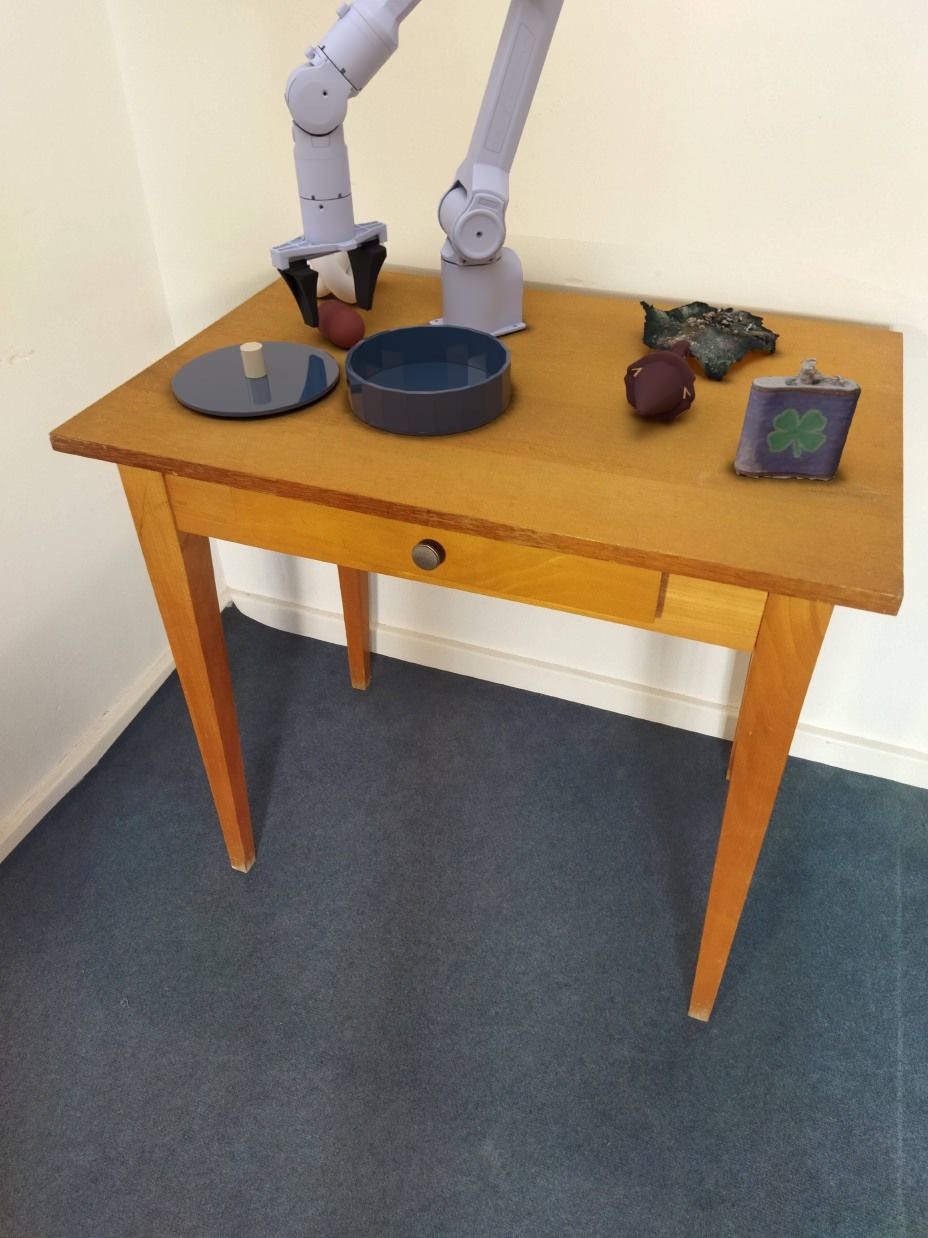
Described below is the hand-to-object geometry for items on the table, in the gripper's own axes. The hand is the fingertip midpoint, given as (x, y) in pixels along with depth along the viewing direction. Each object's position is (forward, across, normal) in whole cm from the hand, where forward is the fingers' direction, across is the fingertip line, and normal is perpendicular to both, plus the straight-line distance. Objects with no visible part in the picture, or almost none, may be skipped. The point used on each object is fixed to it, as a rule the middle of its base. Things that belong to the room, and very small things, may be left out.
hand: (338, 316), depth 104 cm
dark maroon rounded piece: (+3, +13, -38) cm, 40 cm away
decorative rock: (+3, +31, -31) cm, 44 cm away
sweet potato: (+3, 0, 0) cm, 3 cm away
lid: (+2, -14, -3) cm, 14 cm away
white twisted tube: (+3, +10, +13) cm, 16 cm away
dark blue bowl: (+3, -2, -19) cm, 19 cm away
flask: (+3, +12, -53) cm, 55 cm away
